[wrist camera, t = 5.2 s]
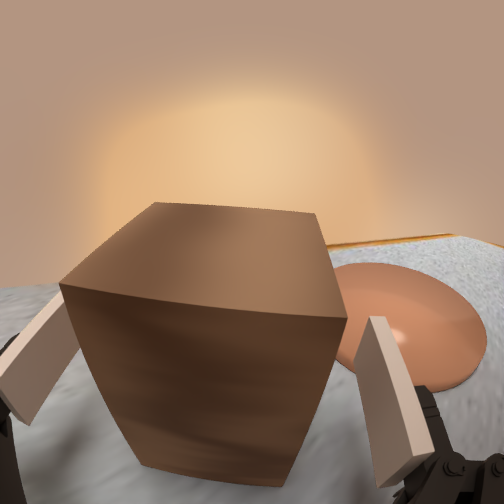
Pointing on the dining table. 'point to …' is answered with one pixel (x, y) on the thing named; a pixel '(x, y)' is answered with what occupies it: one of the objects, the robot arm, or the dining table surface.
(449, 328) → the dish
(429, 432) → the robot arm
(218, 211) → the walnut block
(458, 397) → the dining table surface
